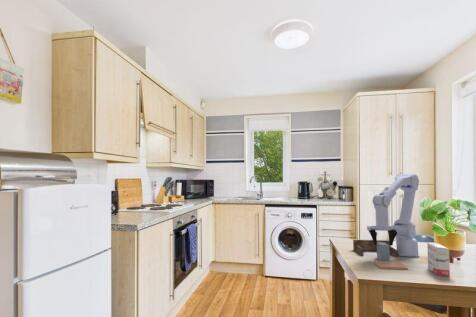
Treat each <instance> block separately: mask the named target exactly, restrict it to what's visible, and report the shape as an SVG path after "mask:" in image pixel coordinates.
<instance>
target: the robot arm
mask: <svg viewBox="0 0 476 317" xmlns="http://www.w3.org/2000/svg"><path fill="white" fill-rule="evenodd" d="M419 184H420V180H419V176H418V175H417V174H415V173H409V174H407V173H406V174H405V173H402V174H400V173H398V174H396V175H395V176H394V181H392V183H391V185H390V186H385V188H384V189H383V190H382V191H380V192H379V193H378V194H375V195H374V196H373V198H372V204H373V207H374V210H375V225H367V226H366V231H368V233H369V234H370V236H371V240H373V243H374V245H377V240H378V238H377V236H378V231H381V232H382V231H387V235H388V240H389V244H390V245H391V246H394V241H395V242H396V250H397V256H399V257H417V258H418V257H420V255H419V244H418V243H419V242H418V240H417V239H416V238H415V237H416V233H417V232H416V225H415V224H414V223H413V222H412V220H411V219H412V214H413V209H414V203H415V197H416V191H418V188H419ZM399 189H400V190H401V191H403V198H402V204H401V208H400V213H399V214H400V215H399V218H398V219H396V220H394V222H393V226H391V225H389V224H390V223H389V206H390V205H391V202H392V199H393V198H395V196H396V195H397V191H398V190H399ZM376 231H377V232H376Z"/></svg>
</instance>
